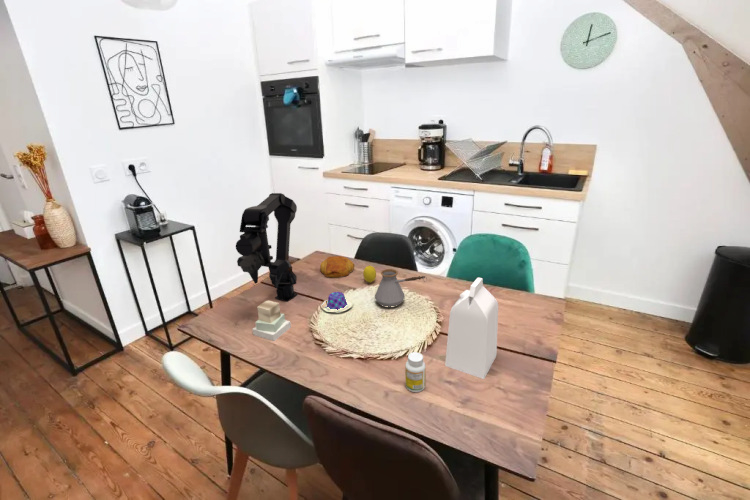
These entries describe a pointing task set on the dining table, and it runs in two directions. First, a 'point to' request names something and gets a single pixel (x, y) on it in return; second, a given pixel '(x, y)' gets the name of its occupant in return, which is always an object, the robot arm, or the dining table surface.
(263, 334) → the base block
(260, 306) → the birch cube
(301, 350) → the dining table surface
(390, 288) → the coffee pot
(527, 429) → the dining table surface
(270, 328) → the sage green block
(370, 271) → the lemon
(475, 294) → the milk
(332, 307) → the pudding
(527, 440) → the dining table surface
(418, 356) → the supplement bottle
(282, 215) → the robot arm
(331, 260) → the croissant
